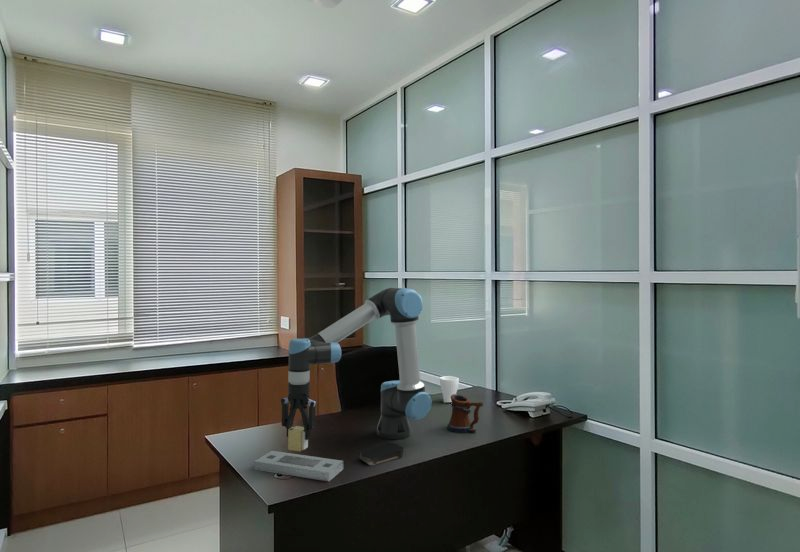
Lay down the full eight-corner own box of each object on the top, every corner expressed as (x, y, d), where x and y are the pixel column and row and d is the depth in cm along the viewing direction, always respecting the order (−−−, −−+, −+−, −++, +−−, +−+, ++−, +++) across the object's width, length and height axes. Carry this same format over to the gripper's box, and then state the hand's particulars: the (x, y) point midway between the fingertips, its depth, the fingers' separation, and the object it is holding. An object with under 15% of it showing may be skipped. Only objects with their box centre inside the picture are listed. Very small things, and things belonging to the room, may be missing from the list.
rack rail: (343, 469, 172) (343, 460, 172) (329, 481, 162) (329, 472, 162) (271, 458, 182) (271, 450, 182) (254, 469, 171) (254, 460, 171)
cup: (461, 401, 266) (461, 377, 266) (455, 406, 256) (455, 380, 256) (443, 399, 270) (443, 375, 270) (436, 403, 260) (437, 379, 260)
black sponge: (392, 451, 191) (392, 442, 191) (405, 457, 184) (405, 448, 184) (357, 460, 181) (357, 451, 181) (370, 467, 174) (370, 457, 174)
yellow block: (307, 446, 173) (308, 427, 173) (300, 451, 168) (300, 431, 168) (295, 445, 175) (295, 425, 175) (288, 449, 170) (288, 429, 170)
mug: (489, 432, 213) (490, 398, 213) (474, 438, 205) (474, 403, 205) (457, 423, 226) (457, 391, 226) (442, 428, 218) (442, 395, 218)
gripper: (326, 382, 172) (325, 447, 172) (283, 378, 178) (282, 440, 178) (316, 386, 165) (315, 454, 165) (271, 382, 171) (270, 447, 171)
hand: (298, 447), depth 172 cm, fingers closed on yellow block, 5 cm apart
